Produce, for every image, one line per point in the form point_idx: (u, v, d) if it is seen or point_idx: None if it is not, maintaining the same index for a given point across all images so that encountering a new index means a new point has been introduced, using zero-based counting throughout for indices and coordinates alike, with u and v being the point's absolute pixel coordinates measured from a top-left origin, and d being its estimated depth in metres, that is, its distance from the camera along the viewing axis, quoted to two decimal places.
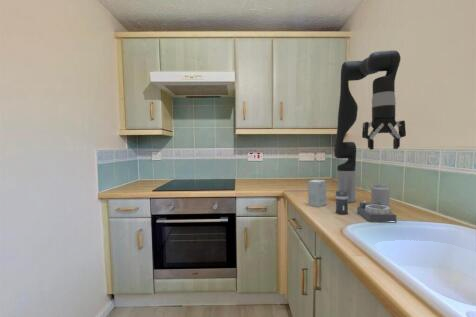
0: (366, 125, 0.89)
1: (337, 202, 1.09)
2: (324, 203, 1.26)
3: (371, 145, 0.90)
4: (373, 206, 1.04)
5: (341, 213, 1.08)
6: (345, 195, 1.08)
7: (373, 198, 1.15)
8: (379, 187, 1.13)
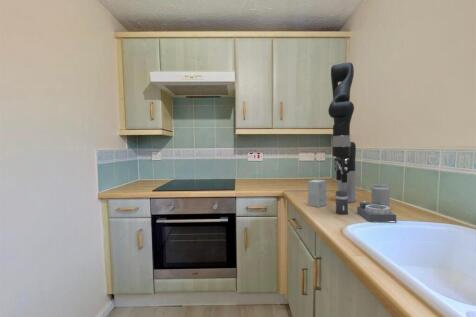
0: None
1: (337, 202, 1.09)
2: (324, 203, 1.26)
3: None
4: (373, 206, 1.04)
5: (341, 213, 1.08)
6: (345, 195, 1.08)
7: (373, 198, 1.15)
8: (379, 187, 1.13)
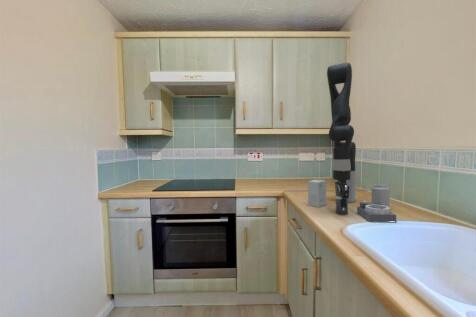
0: None
1: (337, 202, 1.09)
2: (324, 203, 1.26)
3: (345, 204, 1.07)
4: (373, 206, 1.04)
5: (341, 213, 1.08)
6: None
7: (373, 198, 1.15)
8: (379, 187, 1.13)
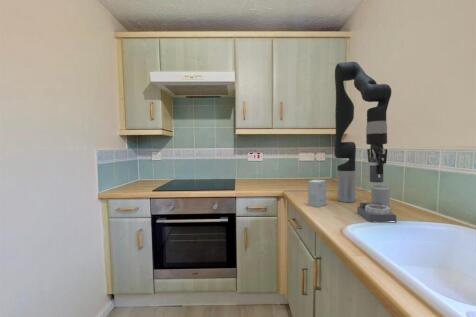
0: None
1: (371, 169, 0.99)
2: (324, 203, 1.26)
3: None
4: (373, 206, 1.04)
5: (376, 180, 0.98)
6: None
7: (373, 198, 1.15)
8: (379, 187, 1.13)
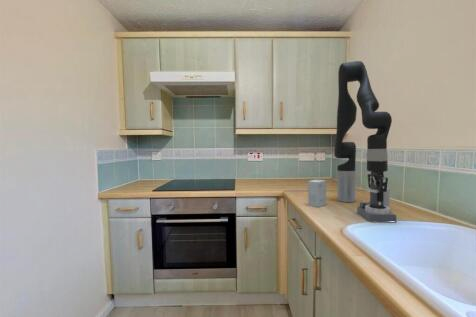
0: None
1: (372, 196, 1.00)
2: (324, 203, 1.26)
3: None
4: None
5: (376, 208, 0.98)
6: None
7: None
8: None
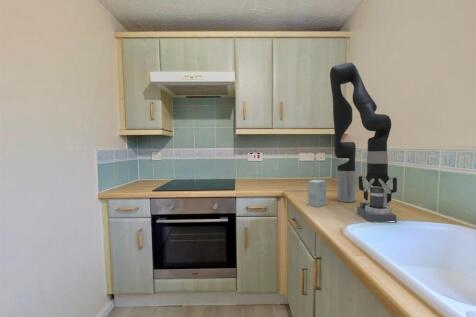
0: None
1: (378, 200, 0.98)
2: (324, 203, 1.26)
3: None
4: None
5: None
6: None
7: None
8: None
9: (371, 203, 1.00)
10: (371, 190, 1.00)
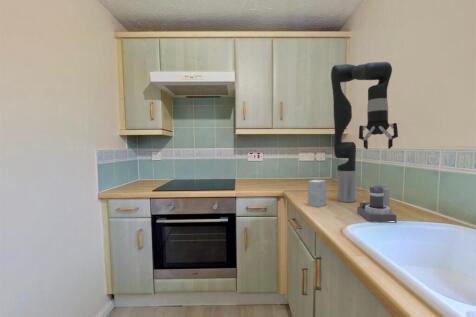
0: None
1: (378, 200, 0.98)
2: (324, 203, 1.26)
3: None
4: None
5: None
6: None
7: None
8: None
9: (371, 203, 1.00)
10: (371, 190, 1.00)
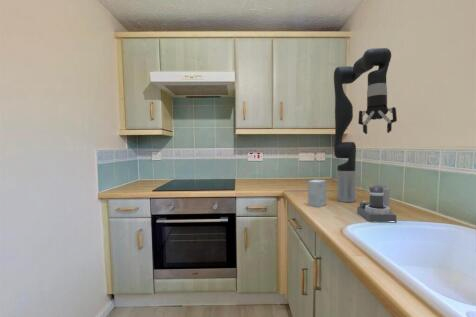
0: None
1: (378, 200, 0.98)
2: (324, 203, 1.26)
3: None
4: None
5: None
6: None
7: None
8: None
9: (371, 203, 1.00)
10: (371, 190, 1.00)
